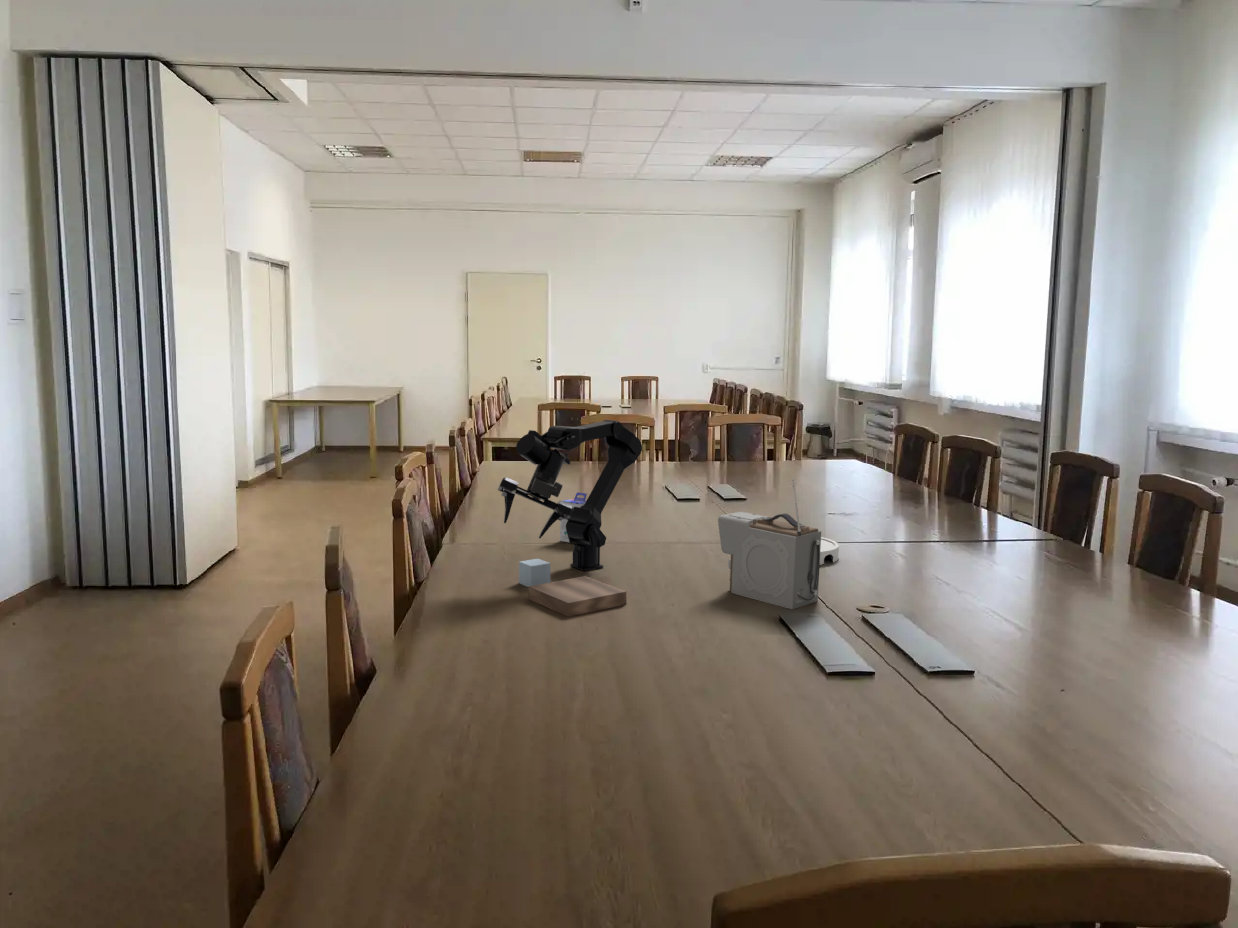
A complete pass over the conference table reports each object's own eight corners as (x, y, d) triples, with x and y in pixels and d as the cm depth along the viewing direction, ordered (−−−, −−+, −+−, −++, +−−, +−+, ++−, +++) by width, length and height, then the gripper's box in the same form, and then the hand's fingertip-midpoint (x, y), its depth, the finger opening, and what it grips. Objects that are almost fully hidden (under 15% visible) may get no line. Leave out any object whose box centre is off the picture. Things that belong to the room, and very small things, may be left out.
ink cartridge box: (597, 542, 267) (598, 494, 265) (587, 546, 262) (588, 496, 260) (569, 538, 272) (570, 490, 270) (559, 541, 267) (559, 493, 265)
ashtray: (832, 548, 266) (833, 535, 266) (843, 568, 243) (844, 553, 243) (752, 545, 269) (753, 532, 268) (756, 564, 246) (757, 550, 245)
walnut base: (585, 588, 219) (585, 575, 218) (626, 604, 206) (626, 591, 206) (528, 598, 209) (528, 586, 208) (568, 616, 196) (568, 603, 196)
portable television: (741, 580, 228) (746, 462, 224) (822, 601, 211) (829, 474, 207) (710, 589, 220) (715, 467, 215) (792, 611, 203) (799, 479, 199)
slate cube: (538, 580, 225) (538, 558, 225) (550, 585, 221) (550, 563, 220) (519, 583, 222) (519, 561, 221) (531, 588, 218) (531, 566, 217)
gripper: (515, 450, 215) (489, 510, 210) (587, 482, 217) (563, 542, 213) (510, 460, 225) (485, 517, 221) (578, 490, 228) (555, 547, 224)
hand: (522, 530), depth 219 cm, fingers open, 9 cm apart
